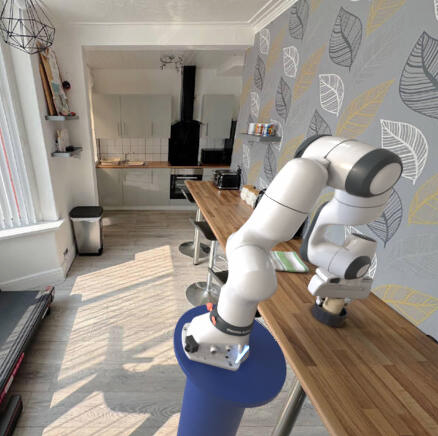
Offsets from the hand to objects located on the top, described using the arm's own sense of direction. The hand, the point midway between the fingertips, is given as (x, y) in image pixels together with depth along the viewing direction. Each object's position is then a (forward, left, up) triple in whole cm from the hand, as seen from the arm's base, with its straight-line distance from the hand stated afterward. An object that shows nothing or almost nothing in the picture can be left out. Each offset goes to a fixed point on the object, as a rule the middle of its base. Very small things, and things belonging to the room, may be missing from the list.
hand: (331, 304), depth 90 cm
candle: (0, 0, -6) cm, 6 cm away
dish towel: (-2, +37, -6) cm, 37 cm away
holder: (0, 0, -6) cm, 6 cm away
